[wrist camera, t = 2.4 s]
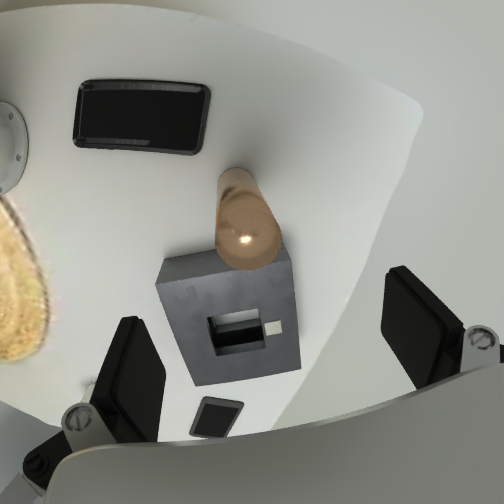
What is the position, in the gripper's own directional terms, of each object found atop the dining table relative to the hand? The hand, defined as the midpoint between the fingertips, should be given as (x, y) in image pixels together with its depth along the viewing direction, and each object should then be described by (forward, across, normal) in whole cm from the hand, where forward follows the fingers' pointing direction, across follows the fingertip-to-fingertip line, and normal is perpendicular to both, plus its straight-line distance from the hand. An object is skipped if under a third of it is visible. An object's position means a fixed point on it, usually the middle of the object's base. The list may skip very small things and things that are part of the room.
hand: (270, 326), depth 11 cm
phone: (+25, +9, -10) cm, 28 cm away
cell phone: (+25, +12, +40) cm, 49 cm away
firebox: (+24, +3, +15) cm, 29 cm away
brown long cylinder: (+24, 0, 0) cm, 24 cm away
